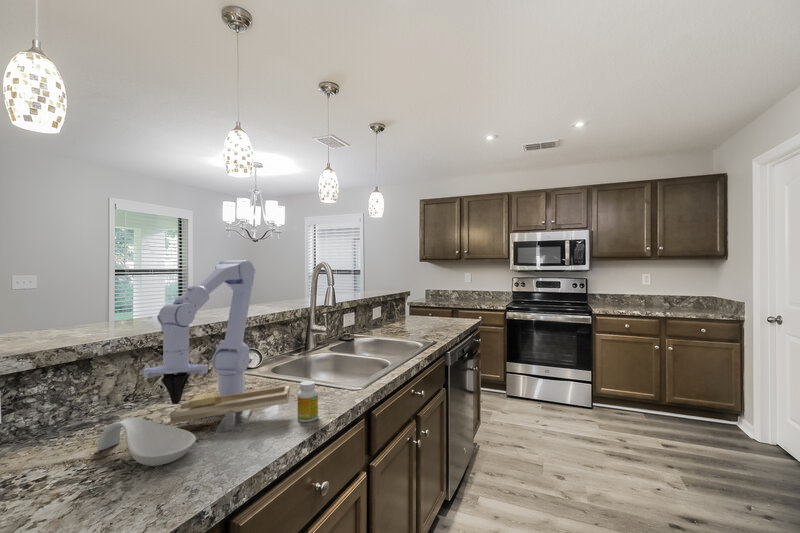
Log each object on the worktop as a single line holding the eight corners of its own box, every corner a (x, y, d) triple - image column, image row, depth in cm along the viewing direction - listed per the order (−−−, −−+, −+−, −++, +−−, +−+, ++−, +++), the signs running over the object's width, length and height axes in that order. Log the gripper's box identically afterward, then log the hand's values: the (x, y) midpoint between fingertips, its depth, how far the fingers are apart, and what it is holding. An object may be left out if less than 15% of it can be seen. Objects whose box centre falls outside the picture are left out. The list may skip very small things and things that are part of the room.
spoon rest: (207, 450, 82) (207, 418, 82) (158, 479, 71) (158, 442, 71) (131, 437, 89) (132, 407, 89) (76, 460, 78) (76, 427, 78)
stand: (228, 414, 102) (228, 398, 102) (251, 412, 103) (251, 396, 103) (216, 433, 90) (216, 414, 90) (242, 430, 91) (241, 412, 92)
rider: (196, 406, 97) (195, 395, 97) (220, 402, 98) (219, 391, 98) (190, 413, 92) (189, 401, 92) (215, 408, 93) (214, 397, 93)
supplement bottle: (312, 423, 96) (312, 386, 96) (293, 421, 97) (293, 385, 97) (321, 415, 101) (320, 380, 101) (303, 414, 102) (303, 379, 102)
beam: (183, 413, 98) (182, 402, 98) (290, 395, 104) (289, 384, 104) (170, 425, 90) (169, 413, 90) (287, 405, 96) (286, 394, 96)
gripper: (137, 354, 89) (137, 410, 88) (201, 351, 92) (201, 405, 91) (150, 349, 96) (150, 400, 95) (210, 346, 99) (210, 396, 98)
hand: (176, 402), depth 94 cm, fingers closed
